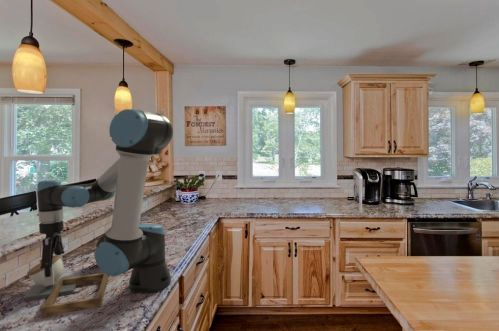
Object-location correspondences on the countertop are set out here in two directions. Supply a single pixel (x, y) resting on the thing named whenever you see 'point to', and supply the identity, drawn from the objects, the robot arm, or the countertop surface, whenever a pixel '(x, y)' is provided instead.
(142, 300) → the countertop surface
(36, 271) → the lidded jar
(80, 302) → the pocket frame
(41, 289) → the trivet
